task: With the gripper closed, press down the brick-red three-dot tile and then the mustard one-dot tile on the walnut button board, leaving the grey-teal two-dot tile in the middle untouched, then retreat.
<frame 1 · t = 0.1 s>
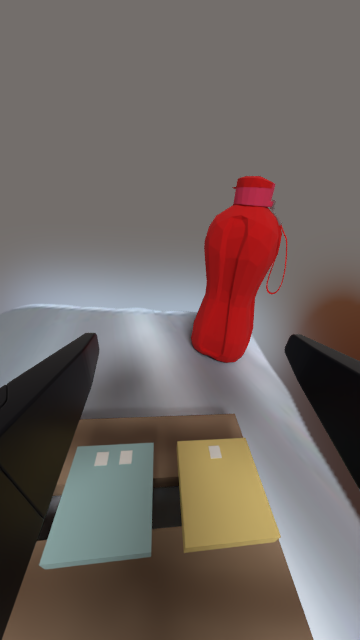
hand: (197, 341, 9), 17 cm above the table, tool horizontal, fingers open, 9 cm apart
red plastic bottle: (222, 348, 36), on the table
button board: (114, 514, 16), on the table
tile teal: (110, 498, 14), point 3 cm above the table, slide at 0.0 cm
tile mustard: (217, 489, 15), point 3 cm above the table, slide at 0.0 cm
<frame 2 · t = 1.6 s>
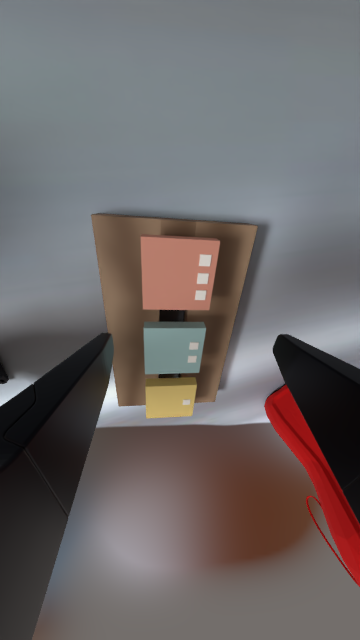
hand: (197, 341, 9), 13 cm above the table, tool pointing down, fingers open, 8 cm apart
tile brick: (177, 272, 18), point 3 cm above the table, slide at 0.0 cm
red plastic bottle: (285, 398, 35), on the table
button board: (170, 327, 24), on the table
tile teal: (172, 343, 22), point 3 cm above the table, slide at 0.0 cm
tile mustard: (169, 392, 26), point 3 cm above the table, slide at 0.0 cm
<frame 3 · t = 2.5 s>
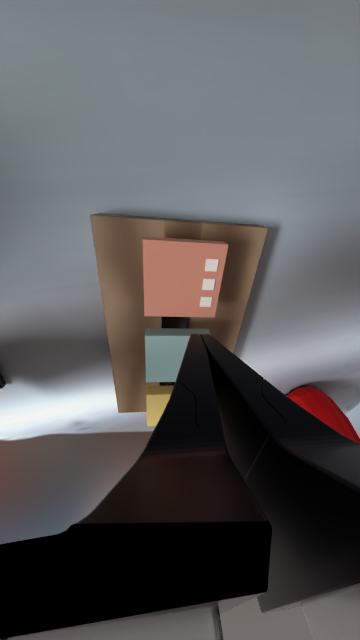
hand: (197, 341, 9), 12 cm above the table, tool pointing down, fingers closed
tile brick: (181, 276, 16), point 3 cm above the table, slide at 0.0 cm
red plastic bottle: (291, 405, 34), on the table
button board: (173, 332, 23), on the table
tile teal: (175, 350, 21), point 3 cm above the table, slide at 0.0 cm
tile mustard: (171, 400, 25), point 3 cm above the table, slide at 0.0 cm
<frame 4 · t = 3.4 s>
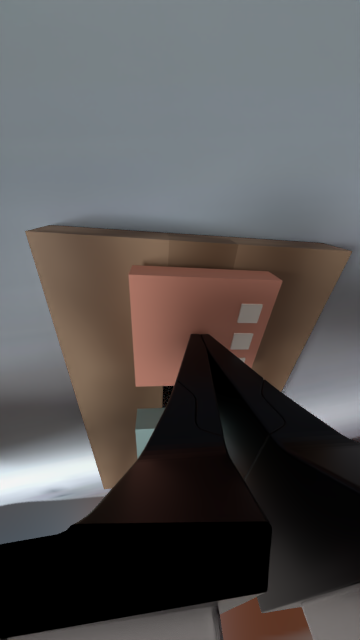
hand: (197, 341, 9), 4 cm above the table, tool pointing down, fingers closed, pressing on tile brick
tile brick: (194, 323, 10), point 2 cm above the table, slide at -1.1 cm, touching gripper
button board: (179, 391, 16), on the table
tile teal: (184, 431, 14), point 3 cm above the table, slide at 0.0 cm
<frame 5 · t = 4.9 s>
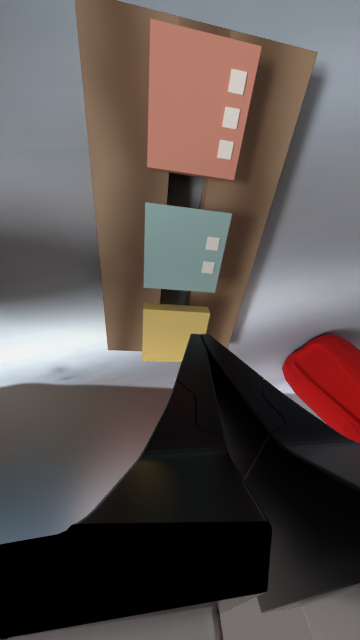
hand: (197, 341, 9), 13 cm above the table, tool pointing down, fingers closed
tile brick: (195, 120, 13), point 2 cm above the table, slide at -1.2 cm
red plastic bottle: (307, 361, 30), on the table
button board: (179, 241, 19), on the table
tile teal: (182, 249, 16), point 3 cm above the table, slide at 0.0 cm
tile mustard: (173, 329, 20), point 3 cm above the table, slide at 0.0 cm
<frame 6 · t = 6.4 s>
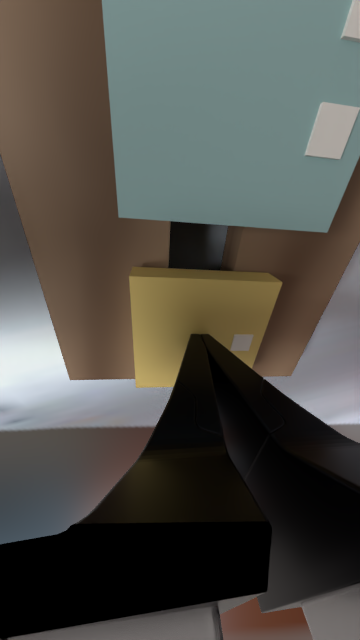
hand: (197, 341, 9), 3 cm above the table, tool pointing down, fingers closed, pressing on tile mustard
button board: (209, 129, 8), on the table
tile teal: (235, 93, 5), point 3 cm above the table, slide at 0.0 cm
tile mustard: (194, 324, 10), point 2 cm above the table, slide at -1.2 cm, touching gripper
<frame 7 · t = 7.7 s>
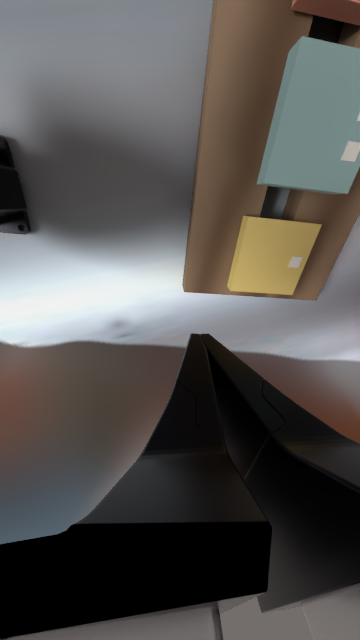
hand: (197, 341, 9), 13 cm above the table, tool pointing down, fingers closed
button board: (286, 146, 16), on the table
tile teal: (312, 134, 13), point 3 cm above the table, slide at 0.0 cm
tile mustard: (265, 256, 18), point 2 cm above the table, slide at -1.2 cm
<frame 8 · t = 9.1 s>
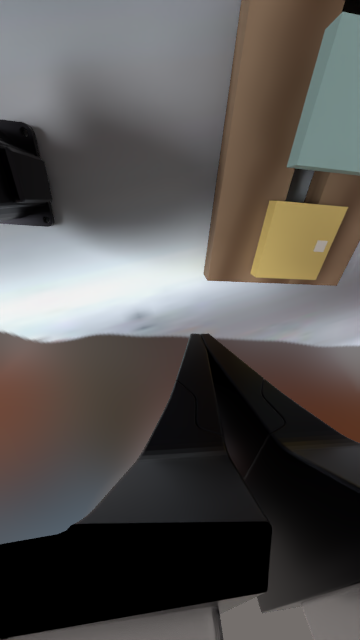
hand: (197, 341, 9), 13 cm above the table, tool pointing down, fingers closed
button board: (310, 129, 16), on the table
tile teal: (343, 115, 13), point 3 cm above the table, slide at 0.0 cm
tile mustard: (289, 241, 18), point 2 cm above the table, slide at -1.2 cm
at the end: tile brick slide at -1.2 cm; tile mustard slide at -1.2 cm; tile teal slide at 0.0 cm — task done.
